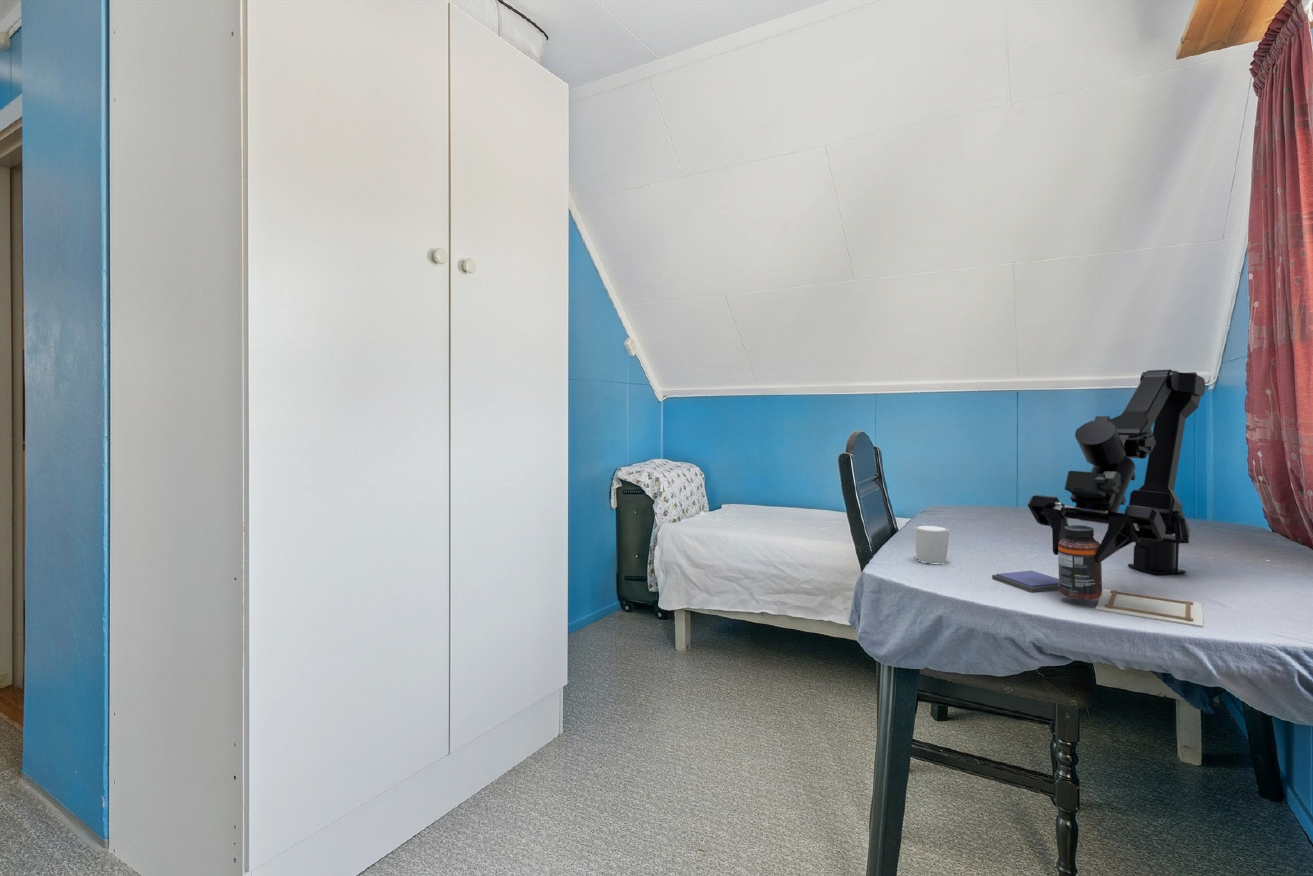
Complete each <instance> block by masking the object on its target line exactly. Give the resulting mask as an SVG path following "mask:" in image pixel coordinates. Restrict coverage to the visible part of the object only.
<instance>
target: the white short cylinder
mask: <svg viewBox="0 0 1313 876" xmlns="http://www.w3.org/2000/svg"><path fill="white" fill-rule="evenodd" d="M913 531H914V532H913V533H914V543H915V554H916V560H917V559H918V560H920V561H923V562H926V563H945V564H946V563H947V557H948V548H949V540H950V531H951V530H950V528H949V527H945V526H940V525H931V524H930V525H928V524H927V525H926V524H925V525H916V526H914V527H913Z"/></svg>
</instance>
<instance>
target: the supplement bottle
mask: <svg viewBox="0 0 1313 876" xmlns="http://www.w3.org/2000/svg"><path fill="white" fill-rule="evenodd" d="M1064 534H1065V537H1064V538H1063V539H1061V540H1060V541H1059V543H1058V555H1057V556H1058V558H1057V559H1058V579H1059V590H1058V591H1059V593H1060V594H1061V595H1063V596H1065V597H1067V598H1071V599H1077V600H1084V601H1085V600H1086V601H1087V600H1090V601H1091V600H1095V599H1100V597H1101V595H1102V592H1103V581H1102V580H1103V579H1102V578H1103V577H1102V575H1103V569H1102V565H1103V564H1102V562H1100V563H1097V562H1096V560H1095V557H1096V554H1097V551H1098V548H1099V546H1100V544H1101V542H1099V541H1097V540H1096V539H1095V538H1094V536H1095V534H1094V528H1093V527H1091V526H1088V525H1077V524H1075V525H1074V524H1072V525H1069V526H1066V527H1065V533H1064Z"/></svg>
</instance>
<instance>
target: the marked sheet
mask: <svg viewBox="0 0 1313 876" xmlns="http://www.w3.org/2000/svg"><path fill="white" fill-rule="evenodd" d="M1198 604H1202V605H1198ZM1094 608H1095V610H1098V611H1104V612H1110V613H1117V614H1120V615H1122V614H1123V615H1129V616H1133V617H1134V616H1135V617H1141V618H1147V619H1151V620H1152V619H1153V620H1159V621H1164V622H1170V623H1177V624H1182V625H1189V626H1195V627H1201V628H1204V618H1203V617H1204V616H1203V615H1204V614H1203V603H1201V602H1196V601H1191V600H1190V601H1188V600H1181V599H1174V598H1167V597H1162V596H1153V595H1147V594H1140V593H1132V592H1126V591H1119V590H1113V589H1112V590H1111V589H1108V588H1107V589H1105V588H1103V589H1102V595H1101V597H1099V598H1098V602H1097V604H1096V606H1095V607H1094Z"/></svg>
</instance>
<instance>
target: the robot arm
mask: <svg viewBox="0 0 1313 876" xmlns="http://www.w3.org/2000/svg"><path fill="white" fill-rule="evenodd" d="M1139 380H1140V381H1139V384H1138V386H1137V387H1136V389H1135V391H1134V393H1133V395H1132V396H1131V398H1130V400H1129V401H1128V402H1127V405H1126V406H1125V408H1124V410H1122V411H1123V412H1122V413H1121V414H1120V415H1118V416H1115V417H1113V418H1111V417H1110V416H1109V415H1108V416H1107V415H1104V416H1103V415H1096V416H1095V418H1094V420H1091V421H1088V422H1085V423H1084V424H1082V425H1080V427H1078V428H1077V429H1076V430H1075V433H1074V437H1075V440H1076V441H1077V444H1078V446H1079V447H1080V451H1081V452H1082V454H1083V457H1084V459H1085V461H1086V463H1088V464H1090V465H1092V469H1091V470H1090V471H1080V470H1069V471H1068V472H1067V477H1066V479H1065V481H1066V482H1065V485H1064V490H1065V491H1068V492H1069V493H1070V494H1071V495H1070V496H1069V498H1070V500H1071V502H1072V503H1075V506H1073V505H1065V504H1064V503H1062V502H1060V500H1059V498H1058V496H1050V495H1049V496H1048V495H1041V494H1034V495H1032V497H1030V499H1029V501H1028V503H1027V507H1028V509H1029V511H1030V513H1031V514H1032V516H1033V517H1034V520H1035V521H1036V523H1037V524H1039V525H1041V526H1049V527H1050V528H1051V530H1052V533H1051V534H1052V538H1051V539H1052V553H1053V554H1054V556H1058V543H1059V541H1060V540H1061V539H1063V538H1064V537H1065V534H1064V533H1065V527H1066V526H1070V525H1069V523H1068V521H1069V520H1070V519H1072V520H1080V521H1082V522H1090V523H1095V524H1104V525H1107V530H1106V532H1105V534H1104V536H1103V539H1102V540H1101V542H1100V546H1099V548H1098V551H1097V554H1096V557H1095V560H1096V562H1097V563H1100V562H1101V563H1102V562H1103V561H1104V560H1105V561H1106V559H1108V558H1109V557H1110V556H1112V555H1113V554H1115V553H1116V552H1118V551H1120V550H1121V549H1123V548H1125V547H1127V546H1129V545H1131V544H1133V543H1135V545H1134V546H1133V562H1132V563H1127V567H1128V568H1131V569H1136V570H1138V571H1142V572H1146V573H1147V574H1149V573H1150V574H1151V575H1156V576H1157V575H1158V576H1159V575H1176V574H1178V575H1179V574H1186V572H1187V571H1186V570H1184V569H1180V568H1179V551H1180V550H1179V546H1180V545H1181V544H1190V538H1191V537H1190V535H1191V534H1190V532H1191V531H1190V527H1189V525H1188V522H1187V519H1186V517H1185V513H1184V512H1183V505H1182V503H1181V501H1180V498H1179V497H1178V495H1177V494H1176V492H1175V485H1176V482H1177V481H1176V480H1177V473H1178V467H1179V464H1180V463H1179V462H1180V456H1181V450H1182V444H1183V438H1184V431H1185V425H1186V420H1187V419H1188V417H1190V415H1192V414H1193V413H1194V412H1195V411H1196V410H1197V409H1199V407H1200V402H1201V397H1203V396H1204V394H1205V391H1206V381H1205V378H1204V377H1202V376H1200V375H1198V373H1197V372H1193V371H1192V372H1179V371H1178V370H1172V369H1171V368H1170V369H1151V370H1150V369H1149V370H1146V371H1142V373H1141V375H1140V378H1139ZM1147 457H1148V458H1147ZM1132 459H1138V460H1139V459H1140V460H1141V459H1142V460H1143V459H1147V464H1146V470H1145V476H1144V481H1143V485H1141V487H1139V488H1138V489H1133V490H1132V491H1131V492H1130V494H1129V502H1128V505H1126V501H1127V499H1126V497H1125V495H1126V492H1127V489H1128V487H1129V485H1130V482H1131V481H1136V473H1135V470H1136V464H1135V462H1134V461H1133V460H1132ZM1121 505H1122V506H1124V505H1126V508H1125V510H1124V512H1123V513H1122V512H1119V509H1120V506H1121Z"/></svg>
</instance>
